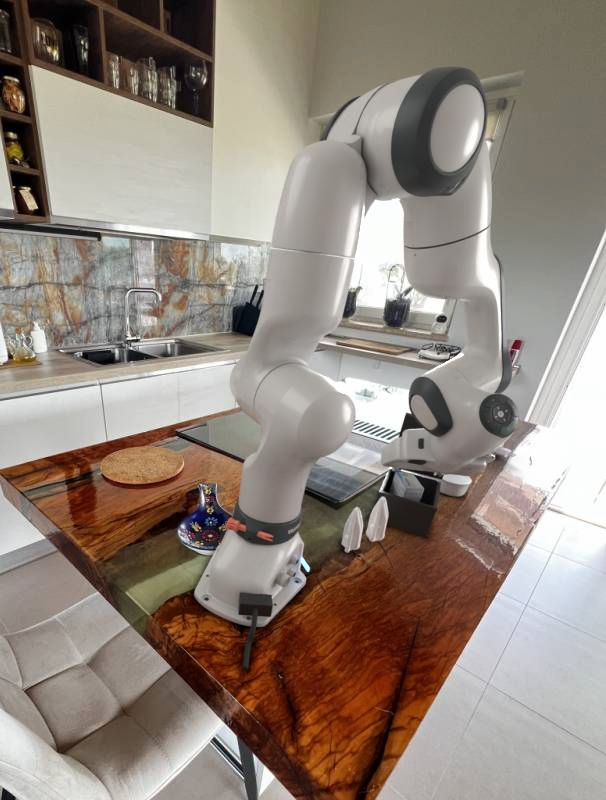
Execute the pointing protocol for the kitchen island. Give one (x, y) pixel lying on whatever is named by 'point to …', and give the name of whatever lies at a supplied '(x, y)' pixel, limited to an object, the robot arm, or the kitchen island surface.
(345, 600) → the kitchen island surface
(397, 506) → the black open box
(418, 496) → the medicine box
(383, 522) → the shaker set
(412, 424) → the black box lid
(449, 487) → the ramekin
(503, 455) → the white bottle
